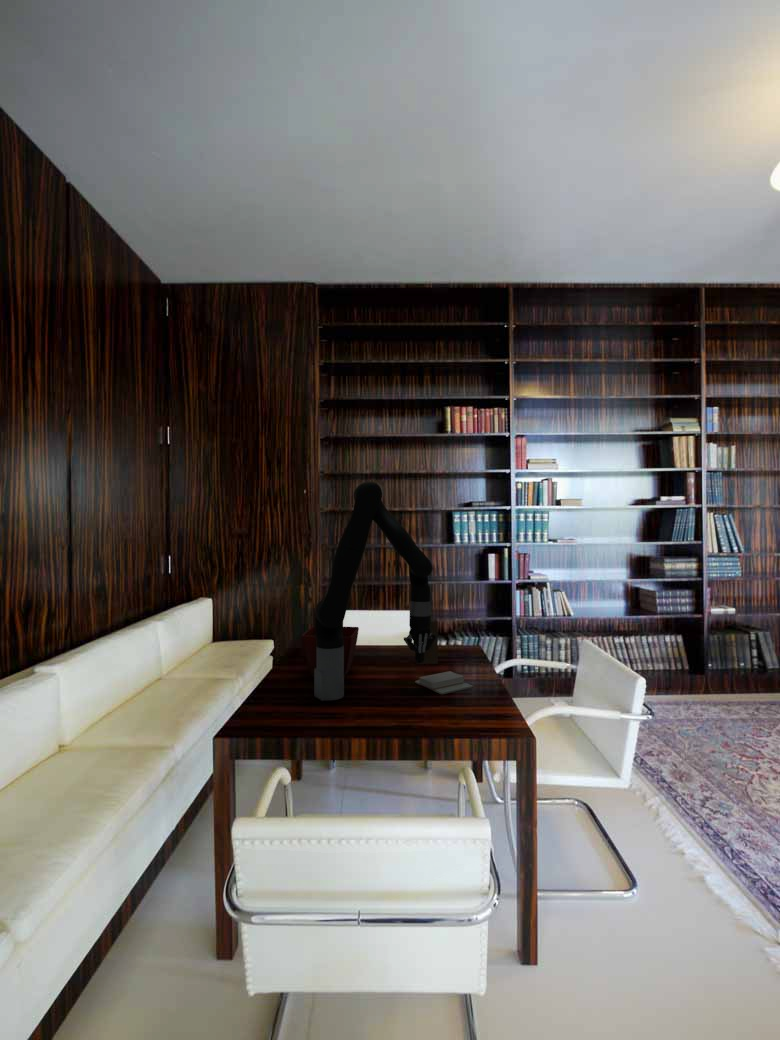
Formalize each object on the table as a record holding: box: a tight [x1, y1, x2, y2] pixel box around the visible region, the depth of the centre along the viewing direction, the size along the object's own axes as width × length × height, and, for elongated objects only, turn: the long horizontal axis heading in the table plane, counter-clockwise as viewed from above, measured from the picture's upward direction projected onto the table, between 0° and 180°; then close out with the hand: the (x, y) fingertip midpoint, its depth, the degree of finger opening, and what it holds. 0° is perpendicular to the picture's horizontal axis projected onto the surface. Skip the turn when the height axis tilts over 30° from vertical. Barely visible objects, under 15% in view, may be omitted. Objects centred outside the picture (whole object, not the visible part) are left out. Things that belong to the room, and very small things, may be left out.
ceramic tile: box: [418, 670, 465, 691], centre depth 193 cm, size 2×8×14 cm
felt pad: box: [414, 679, 474, 696], centre depth 193 cm, size 14×16×1 cm
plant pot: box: [301, 625, 360, 679], centre depth 208 cm, size 19×19×17 cm
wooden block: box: [414, 618, 439, 666], centre depth 223 cm, size 9×4×18 cm, turn 92°
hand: (419, 662), depth 188 cm, fingers closed
